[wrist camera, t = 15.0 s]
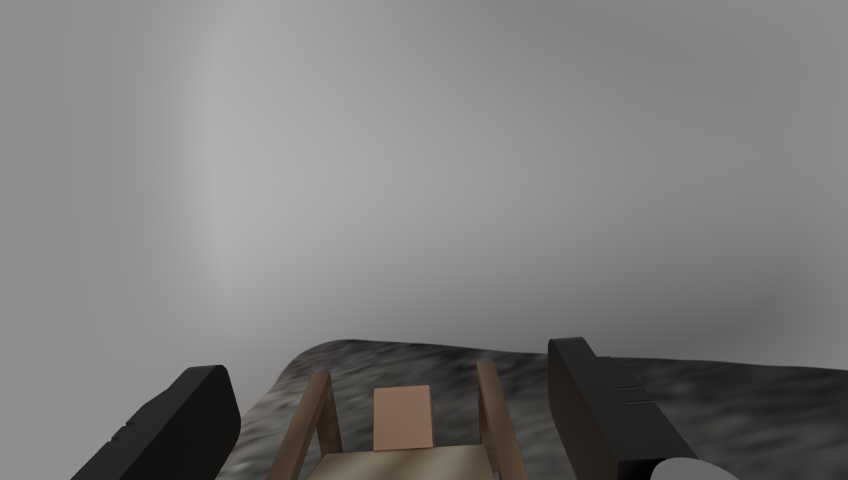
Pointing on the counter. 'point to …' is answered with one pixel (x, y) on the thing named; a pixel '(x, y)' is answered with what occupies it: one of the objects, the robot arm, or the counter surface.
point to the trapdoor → (407, 464)
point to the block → (403, 418)
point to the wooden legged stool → (322, 414)
